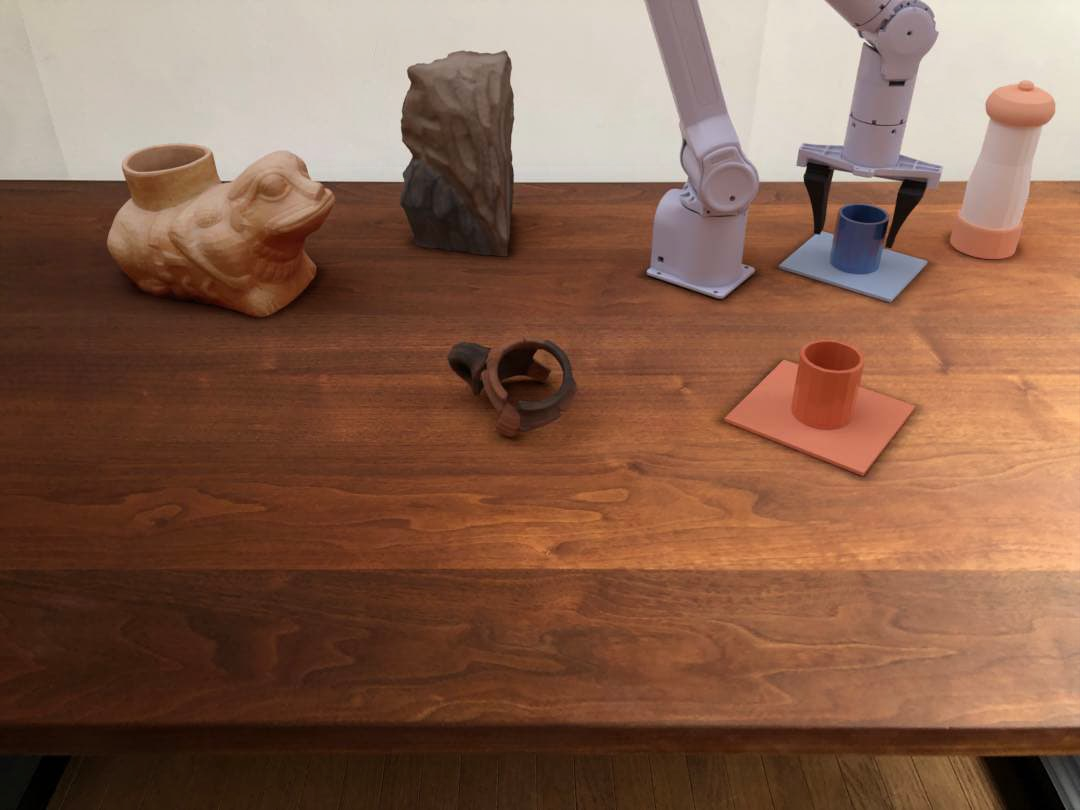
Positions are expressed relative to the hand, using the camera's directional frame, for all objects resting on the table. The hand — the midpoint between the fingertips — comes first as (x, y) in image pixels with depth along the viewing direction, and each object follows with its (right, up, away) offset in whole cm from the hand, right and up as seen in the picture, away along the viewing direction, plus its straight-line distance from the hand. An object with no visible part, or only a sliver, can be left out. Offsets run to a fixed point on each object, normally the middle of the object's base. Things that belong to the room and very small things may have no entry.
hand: (853, 237), depth 115 cm
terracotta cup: (-9, -19, -21) cm, 29 cm away
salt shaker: (+17, 0, +8) cm, 19 cm away
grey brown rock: (-42, +1, +9) cm, 43 cm away
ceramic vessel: (-68, -5, 0) cm, 68 cm away
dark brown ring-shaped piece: (-37, -19, -19) cm, 46 cm away
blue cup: (+1, -2, +3) cm, 4 cm away
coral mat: (-9, -19, -20) cm, 29 cm away
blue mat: (+1, -3, +3) cm, 4 cm away
